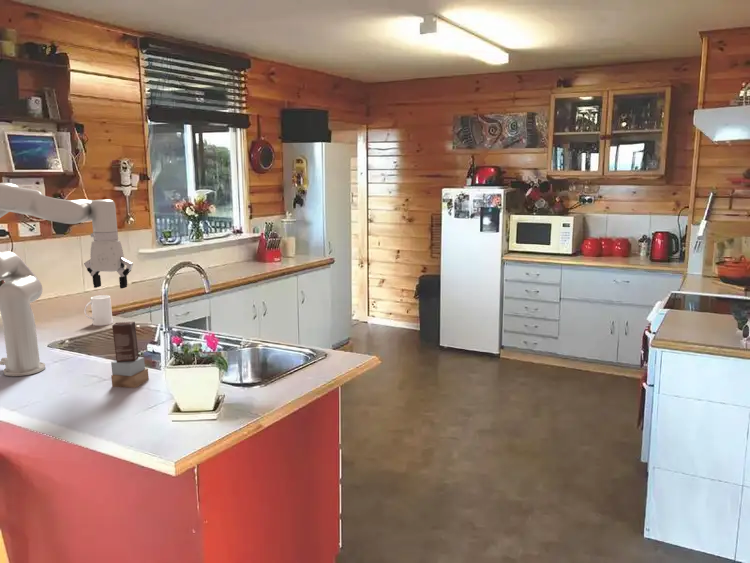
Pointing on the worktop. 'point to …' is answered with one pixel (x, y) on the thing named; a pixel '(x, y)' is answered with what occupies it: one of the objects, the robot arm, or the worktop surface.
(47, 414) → the worktop surface
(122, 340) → the box
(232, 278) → the worktop surface
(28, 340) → the robot arm
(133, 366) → the tower top
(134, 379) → the tower base
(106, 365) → the worktop surface
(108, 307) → the mug
